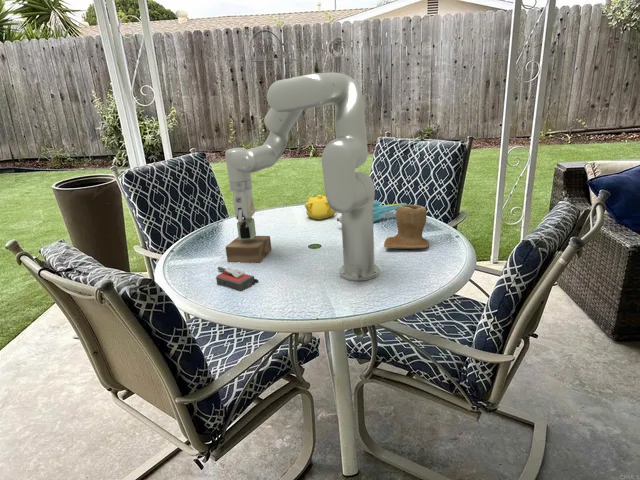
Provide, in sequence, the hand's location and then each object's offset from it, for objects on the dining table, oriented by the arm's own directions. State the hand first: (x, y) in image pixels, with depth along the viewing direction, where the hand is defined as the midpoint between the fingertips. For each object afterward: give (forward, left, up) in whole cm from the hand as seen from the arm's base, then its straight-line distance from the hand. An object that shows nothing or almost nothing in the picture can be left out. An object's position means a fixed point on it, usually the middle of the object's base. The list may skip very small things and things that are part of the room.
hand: (247, 235), depth 156 cm
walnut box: (0, 0, -8) cm, 8 cm away
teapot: (+45, -23, -8) cm, 51 cm away
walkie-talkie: (-20, +2, -9) cm, 22 cm away
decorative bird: (+29, -44, -8) cm, 53 cm away
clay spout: (+4, -56, -8) cm, 57 cm away
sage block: (0, 0, -1) cm, 1 cm away
